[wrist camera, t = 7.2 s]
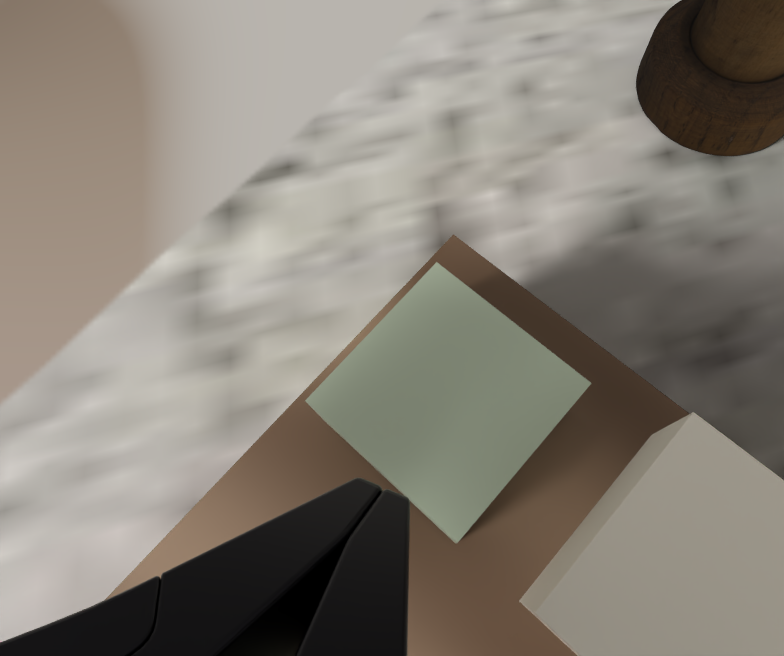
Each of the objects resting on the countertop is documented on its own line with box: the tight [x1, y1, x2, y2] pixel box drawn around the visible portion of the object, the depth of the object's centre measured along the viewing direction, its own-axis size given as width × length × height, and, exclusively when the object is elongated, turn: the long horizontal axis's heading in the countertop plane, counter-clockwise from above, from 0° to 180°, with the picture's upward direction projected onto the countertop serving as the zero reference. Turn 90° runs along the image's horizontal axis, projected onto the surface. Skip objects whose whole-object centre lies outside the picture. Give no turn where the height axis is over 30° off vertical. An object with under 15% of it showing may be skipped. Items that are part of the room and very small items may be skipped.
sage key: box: [305, 262, 591, 543], centre depth 15 cm, size 4×4×2 cm
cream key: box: [519, 412, 784, 656], centre depth 11 cm, size 4×4×2 cm
